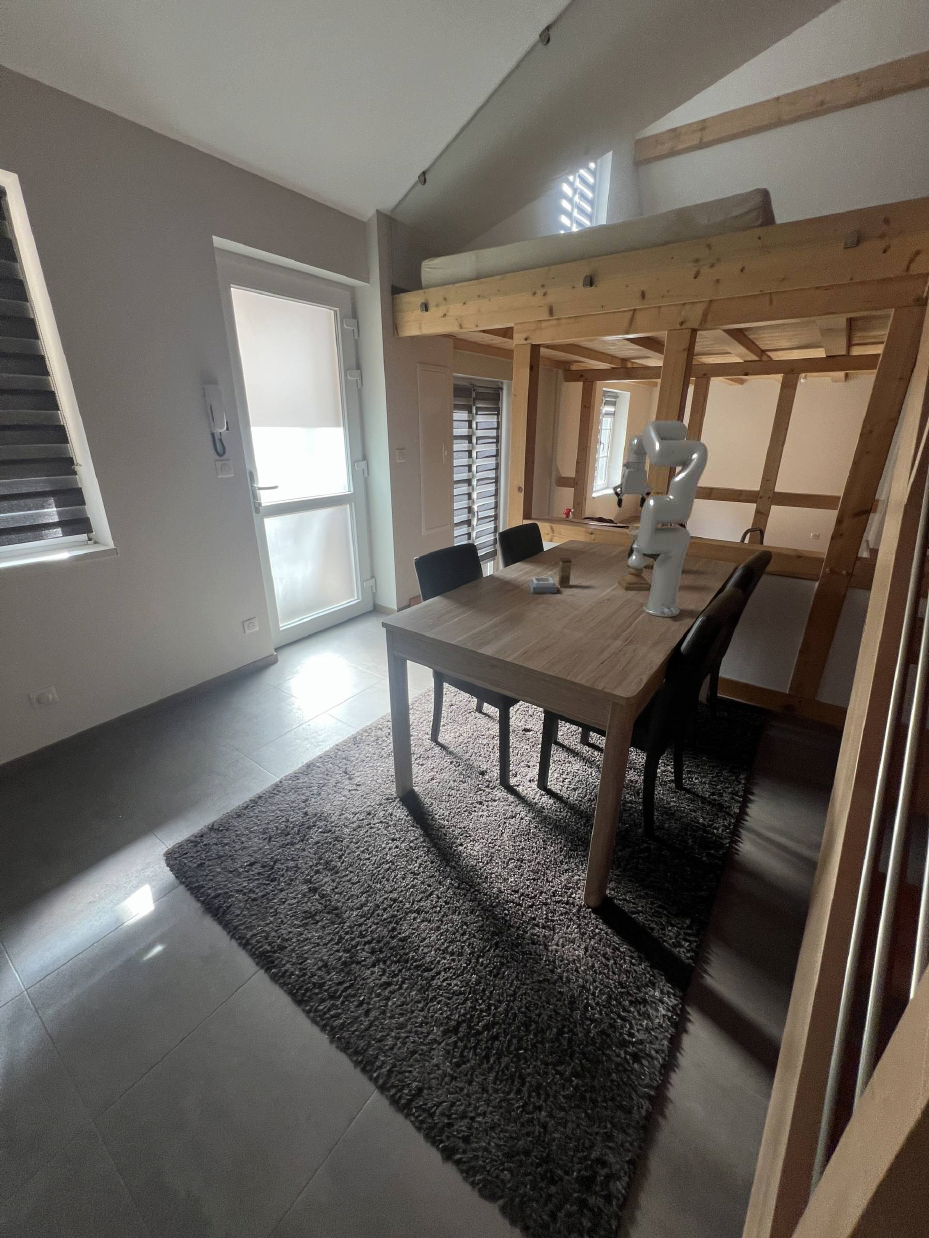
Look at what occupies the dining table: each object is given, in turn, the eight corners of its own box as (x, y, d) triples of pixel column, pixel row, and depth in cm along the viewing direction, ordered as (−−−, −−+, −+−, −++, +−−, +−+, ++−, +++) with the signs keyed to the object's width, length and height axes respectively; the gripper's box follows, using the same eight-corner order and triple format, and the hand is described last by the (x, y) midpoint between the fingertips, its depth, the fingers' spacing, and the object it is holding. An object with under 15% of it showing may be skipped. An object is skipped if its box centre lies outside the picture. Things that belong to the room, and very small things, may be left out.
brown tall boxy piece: (569, 587, 210) (571, 560, 206) (559, 587, 210) (561, 560, 206) (567, 584, 214) (569, 557, 210) (558, 584, 214) (560, 557, 210)
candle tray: (556, 593, 203) (557, 583, 201) (532, 593, 203) (532, 583, 201) (552, 586, 212) (552, 576, 210) (528, 586, 212) (529, 576, 210)
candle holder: (650, 590, 207) (658, 534, 198) (624, 590, 207) (631, 534, 198) (642, 582, 217) (649, 528, 208) (617, 582, 217) (623, 528, 208)
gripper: (618, 467, 204) (613, 508, 211) (659, 467, 205) (653, 508, 211) (612, 465, 211) (608, 506, 218) (652, 465, 212) (647, 506, 218)
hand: (630, 507), depth 214 cm, fingers open, 9 cm apart
